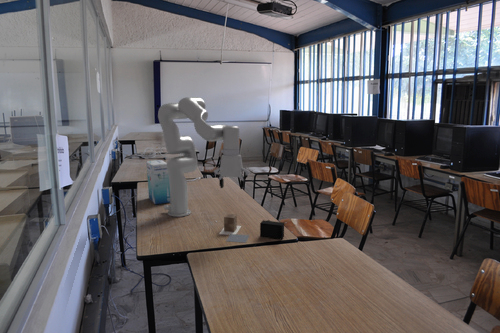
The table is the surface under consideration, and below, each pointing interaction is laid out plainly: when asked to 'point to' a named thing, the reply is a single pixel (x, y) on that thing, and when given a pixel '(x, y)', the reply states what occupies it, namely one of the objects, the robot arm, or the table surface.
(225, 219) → the walnut block
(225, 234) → the card
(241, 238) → the rubber mat
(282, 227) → the digital camera
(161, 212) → the table surface
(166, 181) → the toothbrush box
